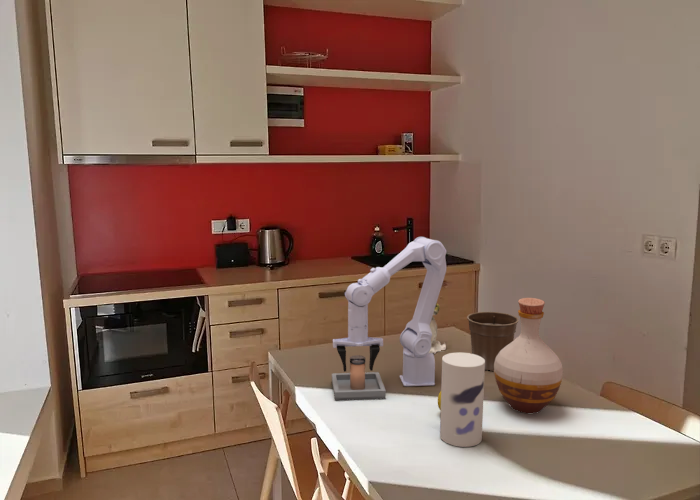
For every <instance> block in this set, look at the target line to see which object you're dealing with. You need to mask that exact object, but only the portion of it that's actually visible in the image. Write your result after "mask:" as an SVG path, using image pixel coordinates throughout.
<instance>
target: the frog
mask: <svg viewBox="0 0 700 500" xmlns="http://www.w3.org/2000/svg"><path fill="white" fill-rule="evenodd" d="M439 311H440V303H439V304H438V303H436V306H435V309H434V312H433V316H432V319H431V322H430V329H431V332H432V337H431V349H430V351H429V353H433V355H436V353H437V352H442V351H441V350H447V349H446V348H447V345H446V342H445V341H444V342H443V343H442V344H441V341H439V340H437V335H438V324H437V322H436V321H437V320H435V317H434V316H437V315H438V314H439Z"/></svg>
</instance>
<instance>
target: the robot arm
mask: <svg viewBox="0 0 700 500" xmlns="http://www.w3.org/2000/svg"><path fill="white" fill-rule="evenodd" d="M446 254H447V249H446V247H445V246H444V244H443V243H442V241H440V240H437V239H431V238H428V237H425V236H418V237H416V238H414V240H413V241H411V242H409V243H408V244H407V245H406V247H404V249H403V250H401V251H400V253H398V254H397V255H395V256H394V257H393V258H392V259H391V260H389V262H388V263H387V264H385V265H384V266H383V267H380V266H376V267H372V268H371V269H369V271H370V272H369V273H367V274H365V275H364V276H363V277H362V278H359V279H357V282H353V283H350V284H349V285H348V286H347V289H345V292H344V296H345V298H346V300H347V302H348V303H347V304H348V305H347V337H343V338H333V339H332V348H333V349H334V348H336V351H337V352H338V356H339V357H340V360H341V362H342V368H343V373H347V349H346V347H368V346H369V365H368V367H369V372H373V369H374V364H375V361H376V359H377V357H378V355H379V353H380V350H381V349H380V347H384V338H383V337H371V336H368V335H369V326H368V325H369V323H368V321H369V316H368V315H369V303H371V300H372V298H373V296H374V295H375V294H377V293H378V292H379V291H380V290H381V289H383V288H384V287H385V286H387V285H388V284H389V283H390V281H391V277H392V276H394V275H395V274H396V273H398V272H399V271H400V270H402V269H403V268H406V266H408V265H409V264H410V263H412V262H421V263H422V265H423V266H424V268H425V269H426V273H425V276H424V280H423V283H422V287H421V290H420V293H419V296H418V298H417V299H418V300H417V303H416V307H415V310H414V313H413V316H412V319H411V320H410V321H408V322H407V323H406V325H405V328H404V330H403V331H402V332H401V333H400V335H399V342H400V345H401V346H402V347H403V348H402V350H403V351H402V354H403V355H402V374H400V375H399V379H400V380H401V382H402V385H403V386H404V387H421V386H422V387H423V386H425V387H426V386H427V387H428V386H435V385H436V383H435V382H436V381H435V378H436V377H435V375H436V374H435V373H436V372H435V371H436V361H435V360H436V359H435V354H434V352H433V353H431V352H430V353H429V351H430V349H431V337H432V332H431V329H430V322H431V319H432V316H433V317H434V315H433V312H434V309H435V306H436V303H437V302H438V299H439V296H440V291H441V289H442V286H443V282H444V280H445V276H446V273H447V261H446ZM437 304H438V303H437Z"/></svg>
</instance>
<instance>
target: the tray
mask: <svg viewBox="0 0 700 500" xmlns="http://www.w3.org/2000/svg"><path fill="white" fill-rule="evenodd" d="M331 385H332V386H331V387H332V392H333V393H332V394H333V398H334V402H340V401H342V402H343V401H368V400H369V401H371V400H373V401H374V400H375V401H376V400H386V399H387V398H386V396H387V395H386V388H385V385H384V383H383V381H382V378H381V375H380V373H379V371H369V372H368V371H367V372H366V371H365V389H363V390H352V389H351V388H350V372H339V373H331Z"/></svg>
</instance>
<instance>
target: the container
mask: <svg viewBox="0 0 700 500" xmlns="http://www.w3.org/2000/svg"><path fill="white" fill-rule="evenodd" d="M485 371H486V370H485V360H484V359H483V358H482V357H480V356H478V355H475V354H472V353H470V352H459V351H458V352H449V353H447V354H444V355H443V356H442V359H441V382H440V383H441V385H440V386H441V388H440V391H441V411H440V417H439V418H440V420H439V421H440V422H439V423H440V424H439V436H440V439H441V440H443V442H445V443H447V444H449V445H451V446H455V447H460V448H462V447H463V448H465V447H466V448H469V447H474V446H477V445H479V444H480V443H481V442H482V441H483V437H482V436H483V418H484V417H483V416H484V393H485V392H484V390H485Z"/></svg>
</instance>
